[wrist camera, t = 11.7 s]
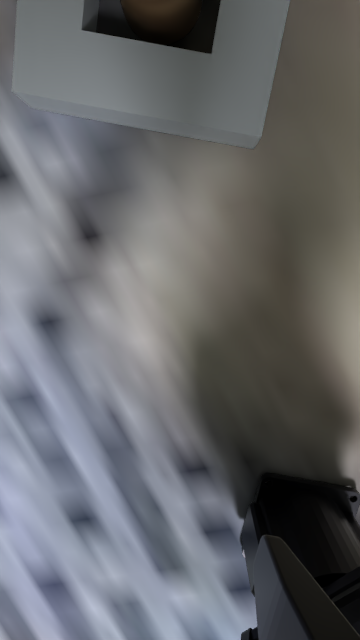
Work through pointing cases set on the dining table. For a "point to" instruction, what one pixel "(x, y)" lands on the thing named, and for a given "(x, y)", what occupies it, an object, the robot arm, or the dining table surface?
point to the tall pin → (161, 18)
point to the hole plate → (151, 71)
